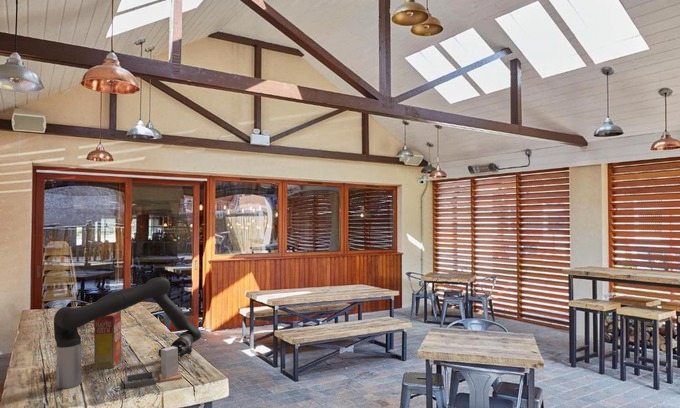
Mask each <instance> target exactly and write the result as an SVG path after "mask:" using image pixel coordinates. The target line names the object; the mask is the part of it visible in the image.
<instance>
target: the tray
mask: <svg viewBox="0 0 680 408" xmlns="http://www.w3.org/2000/svg"><path fill="white" fill-rule="evenodd" d="M145 378H150V379H145ZM140 379H145V380H140ZM155 379H156V377H155V372H154V371H146V372H142V373H141V372H140V373H134V374H133V373H132V374H127V375H125V380H124V389H130V388H131V389H132V388H138V387H144V386H145V387H146V386H150V385H151V384H152V385H156V381H155ZM131 380H132V382H128V381H131ZM133 380H138V381H133Z"/></svg>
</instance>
